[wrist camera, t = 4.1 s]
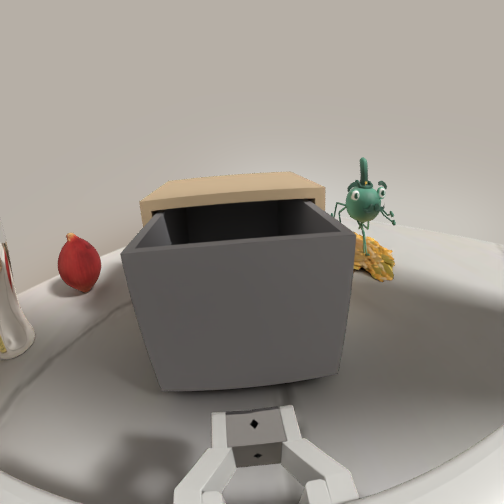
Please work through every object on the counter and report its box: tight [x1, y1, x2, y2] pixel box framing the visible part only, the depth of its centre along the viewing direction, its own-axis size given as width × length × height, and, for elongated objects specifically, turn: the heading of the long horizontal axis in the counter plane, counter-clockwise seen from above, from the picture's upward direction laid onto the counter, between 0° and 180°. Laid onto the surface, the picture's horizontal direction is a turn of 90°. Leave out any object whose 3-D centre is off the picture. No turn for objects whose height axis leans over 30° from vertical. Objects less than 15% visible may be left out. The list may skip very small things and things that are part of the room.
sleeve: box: [140, 172, 325, 227], centre depth 28 cm, size 12×14×12 cm
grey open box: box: [120, 198, 356, 391], centre depth 25 cm, size 20×12×10 cm, turn 5°
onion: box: [58, 233, 101, 292], centre depth 31 cm, size 6×6×8 cm
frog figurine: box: [331, 158, 396, 282], centre depth 36 cm, size 10×18×15 cm, turn 7°
